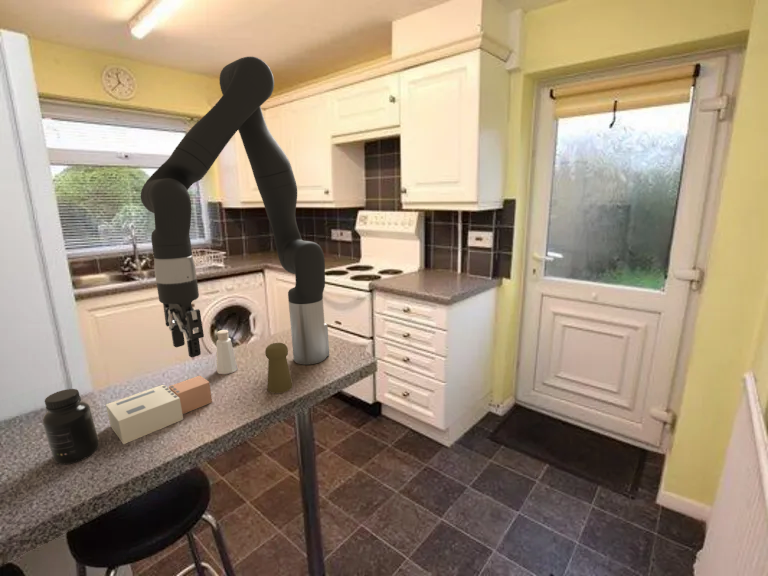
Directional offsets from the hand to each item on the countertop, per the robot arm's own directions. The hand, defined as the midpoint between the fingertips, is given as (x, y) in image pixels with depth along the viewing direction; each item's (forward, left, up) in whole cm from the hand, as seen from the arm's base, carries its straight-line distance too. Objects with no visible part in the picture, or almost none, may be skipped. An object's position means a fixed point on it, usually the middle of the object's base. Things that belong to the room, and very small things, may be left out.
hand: (186, 350), depth 86 cm
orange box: (+1, 0, -13) cm, 13 cm away
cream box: (+10, 0, -13) cm, 16 cm away
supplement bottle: (+22, +1, -13) cm, 26 cm away
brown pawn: (-17, +8, -13) cm, 23 cm away
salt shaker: (-13, -11, -13) cm, 21 cm away
